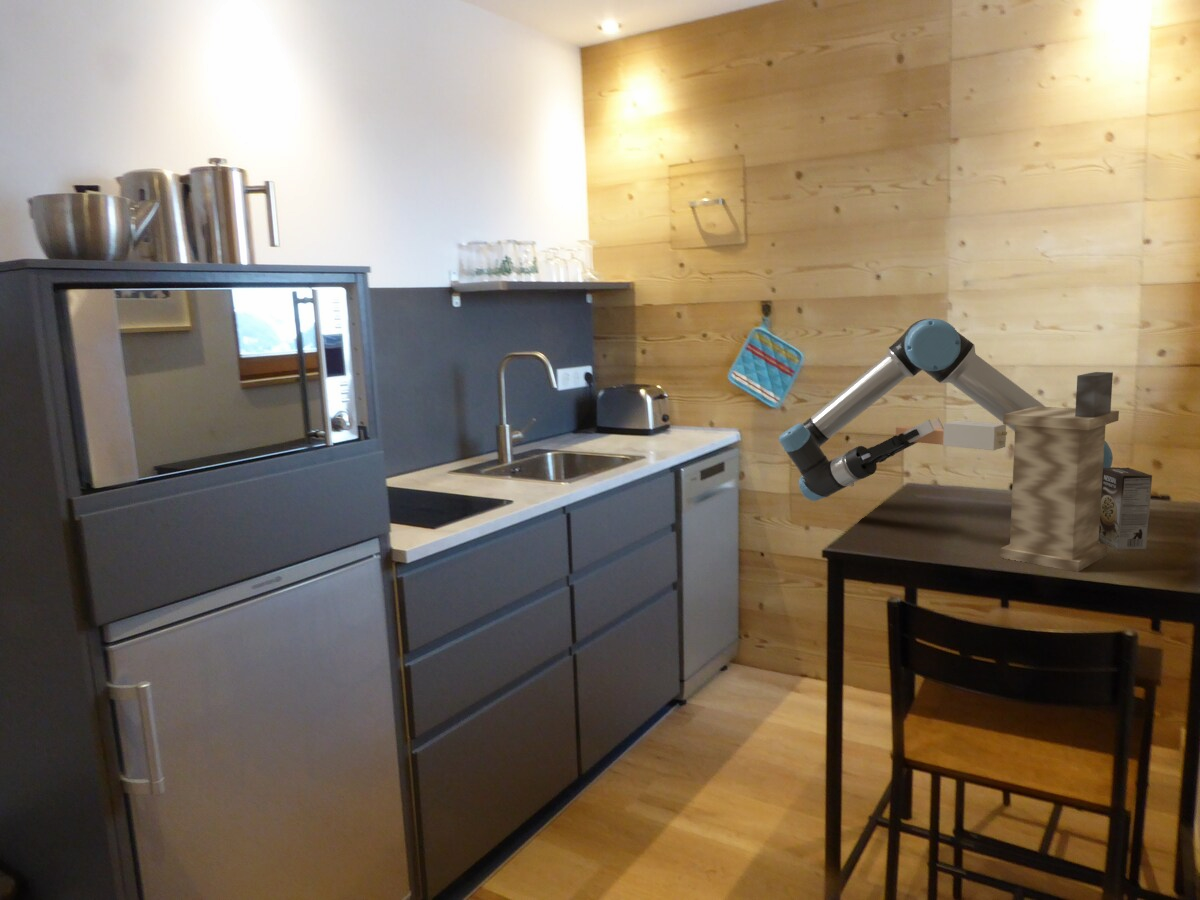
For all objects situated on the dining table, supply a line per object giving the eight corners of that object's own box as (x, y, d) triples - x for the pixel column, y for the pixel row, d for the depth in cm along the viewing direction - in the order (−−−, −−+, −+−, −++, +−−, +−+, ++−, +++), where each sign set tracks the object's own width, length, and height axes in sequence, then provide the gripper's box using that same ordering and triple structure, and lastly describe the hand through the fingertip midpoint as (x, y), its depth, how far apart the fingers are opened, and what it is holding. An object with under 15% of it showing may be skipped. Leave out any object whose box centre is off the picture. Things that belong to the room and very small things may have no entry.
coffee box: (1094, 538, 193) (1098, 467, 191) (1123, 538, 193) (1128, 466, 191) (1117, 550, 184) (1121, 475, 182) (1148, 549, 184) (1153, 474, 182)
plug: (892, 440, 201) (893, 419, 201) (905, 437, 205) (906, 416, 205) (997, 450, 184) (998, 427, 183) (1009, 447, 188) (1010, 424, 187)
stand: (997, 557, 181) (1005, 374, 176) (1029, 541, 193) (1038, 369, 187) (1080, 572, 170) (1091, 377, 164) (1110, 554, 181) (1121, 371, 175)
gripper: (878, 474, 218) (960, 434, 201) (842, 485, 206) (925, 443, 190) (865, 447, 219) (945, 405, 203) (829, 456, 208) (910, 413, 192)
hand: (935, 424), depth 196 cm, fingers closed on plug, 4 cm apart
